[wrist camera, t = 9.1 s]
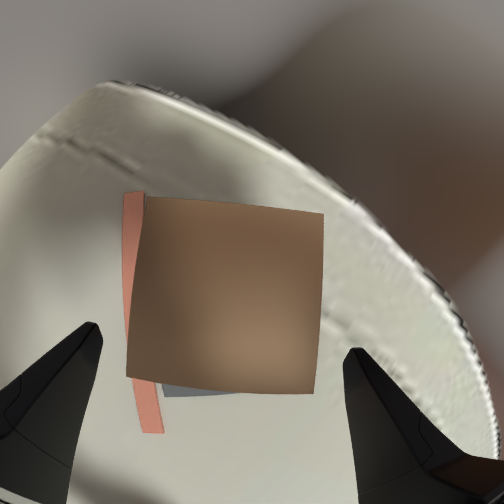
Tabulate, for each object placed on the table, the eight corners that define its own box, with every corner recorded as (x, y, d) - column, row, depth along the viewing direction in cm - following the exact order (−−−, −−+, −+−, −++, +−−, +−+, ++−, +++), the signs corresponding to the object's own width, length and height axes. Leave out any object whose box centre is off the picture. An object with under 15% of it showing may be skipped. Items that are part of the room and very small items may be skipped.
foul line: (164, 431, 16) (163, 433, 16) (144, 431, 16) (142, 432, 16) (144, 192, 20) (143, 190, 19) (125, 195, 20) (124, 193, 19)
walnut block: (259, 343, 18) (313, 394, 6) (190, 337, 17) (126, 376, 6) (264, 275, 19) (323, 213, 7) (196, 269, 18) (147, 196, 7)
